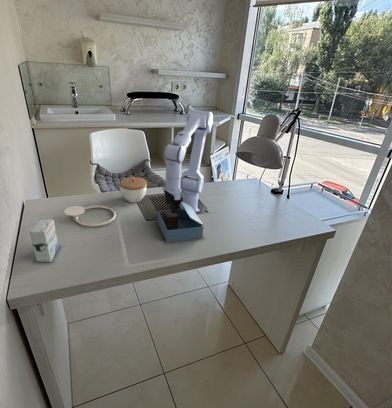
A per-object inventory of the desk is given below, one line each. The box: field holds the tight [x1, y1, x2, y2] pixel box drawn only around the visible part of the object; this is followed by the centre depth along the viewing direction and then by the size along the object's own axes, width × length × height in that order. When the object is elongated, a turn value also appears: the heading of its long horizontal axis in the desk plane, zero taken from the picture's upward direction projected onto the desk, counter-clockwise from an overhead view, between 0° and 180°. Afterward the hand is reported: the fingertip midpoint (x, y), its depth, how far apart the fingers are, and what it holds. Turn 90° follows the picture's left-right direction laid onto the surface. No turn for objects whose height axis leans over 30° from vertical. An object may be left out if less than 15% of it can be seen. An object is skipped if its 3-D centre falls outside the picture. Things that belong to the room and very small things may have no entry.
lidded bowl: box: [119, 176, 148, 204], centre depth 139 cm, size 13×13×11 cm
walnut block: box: [165, 211, 178, 230], centre depth 120 cm, size 4×4×6 cm
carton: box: [157, 208, 204, 243], centre depth 120 cm, size 16×15×5 cm
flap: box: [181, 201, 204, 226], centre depth 119 cm, size 16×7×1 cm
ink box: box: [29, 218, 59, 263], centre depth 98 cm, size 8×5×12 cm, turn 5°
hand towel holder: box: [63, 204, 117, 228], centre depth 123 cm, size 17×4×21 cm
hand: (171, 208), depth 118 cm, fingers open, 7 cm apart
